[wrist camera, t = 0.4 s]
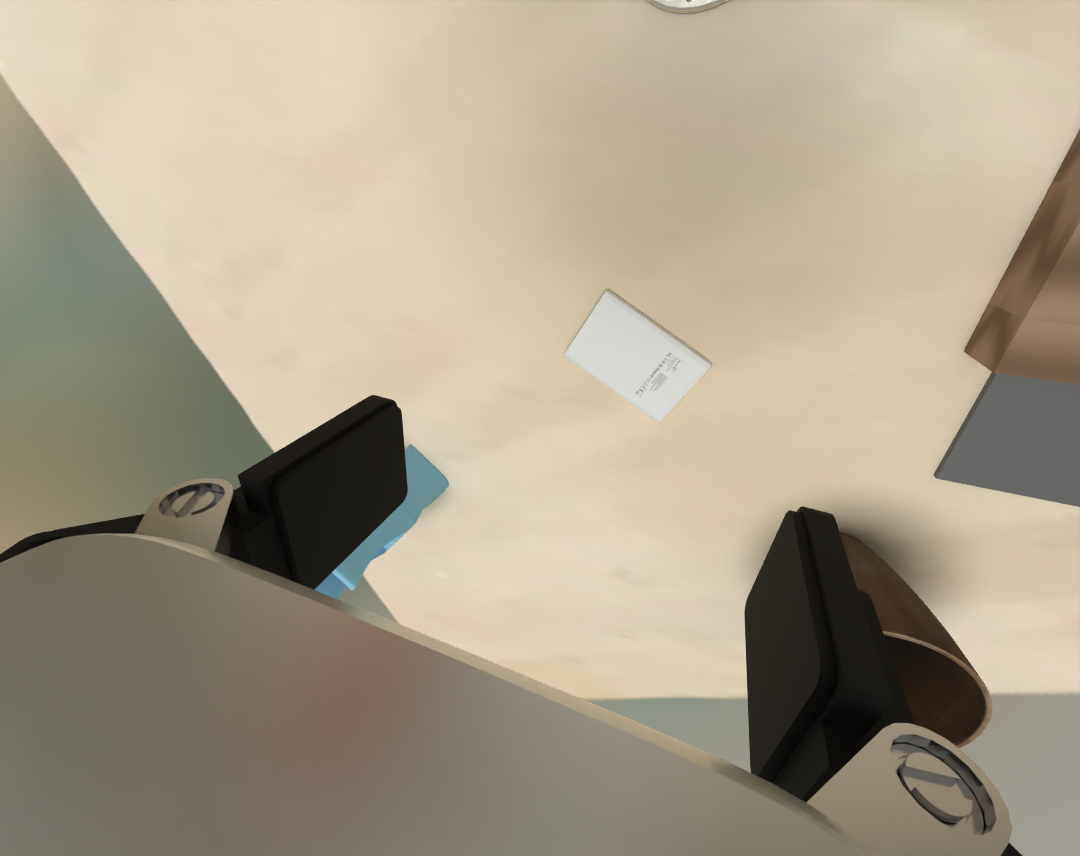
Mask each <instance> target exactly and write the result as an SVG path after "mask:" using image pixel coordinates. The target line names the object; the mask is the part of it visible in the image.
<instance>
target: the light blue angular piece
mask: <svg viewBox="0 0 1080 856" xmlns="http://www.w3.org/2000/svg"><path fill="white" fill-rule="evenodd" d="M405 461H406V473H407V485H408V492H407V496H406V498H405V500H404V502H403V503H402V504H401V505H400V506H399V507H398V508H397V509H396V510H395V511H394V512H393V513H392V514H391V515H390V516H389V517H388V518H387V519H386V520H385V521H384V522H383V523H382V524H381V525H380V526H379V527H378V528H377V529H376V530H375V531H374V532H373V533H372V534H371V535H370V536H369V537H367V538H366V539H365V540H364V541H363V542H362V543H361V544H360V545H359V546H358V547H357V548H356V549H355V550H354V551H353V552H352V553H351V554H350V555H349V556H348V557H347V558H346V559H345V560H344V561H343V562H342V563H341V564H340V565H339V566H338V567H337V568H336V569H335V570H334V571H333V572H332V573H331V574H330V575H329V576H328V577H327V578H326V579H325V580H324V581H323V582H322V583H321V584H320V585H319V586H318V587H317V588H316V589H315V590H316V591H318V592H321V593H323V594H326V595H328V596H331V597H333V598H336V599H338V598H339V597H340V595H341V594H342V592H343V590H344V589H345V587H346V586H348V587H349V588H350V589H351V590H353V589H354V588H355V587H356V586H357V583H358V582H359V580H360V578H361V576H362V574H363V572H364V571H365V569H366V567H367V566H368V564H369V563H370V561H371V560H373V559H375V558H376V557H378V556H380V555H382V554H384V553H385V552H386V551H387V550H388V549H389V548H390V547H391V546H392V545H393V544H394V543H395V542H397V541H398V540H399V539H400V538H401V537H402V536H403V535H404V534H405V533H406V532H407V531H408V530H409V529H410V528H411V527H412V526H413V525H414V524H415V523H416V521H417V519H418V517H419V515H420V514H421V512H422V510H423V509H424V508H425V507H427V506H428V505H429V504H431V503H432V502H433V501H434V500H435V499H436V498H437V497H438V496H439V495H440V494H441V493H442V492H443V491H444V490H445V489H446V488H447V487H448V481H447V479H446V478H445V476H444V475H443V474H442V473H441V472H440V471H439V470H438V469H436V468H435V467H434V466H433V465H432V464H431V463H430V462H429V461H428V460H427V459H426V458H425V457H424V456H423V455H422V454H421V453H420V452H419V451H418V450H416V449H415V448H414V447H413V446H412V445H411V444H410V446H409V447H408V448H407V449H406V451H405Z"/></svg>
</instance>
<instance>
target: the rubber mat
mask: <svg viewBox="0 0 1080 856" xmlns="http://www.w3.org/2000/svg"><path fill="white" fill-rule="evenodd" d="M934 476H935V477H936V478H937V479H942V480H947V481H952V482H957V483H962V484H967V485H972V486H977V487H982V488H987V489H992V490H997V491H1003V492H1008V493H1013V494H1018V495H1023V496H1028V497H1033V498H1038V499H1043V500H1048V501H1053V502H1058V503H1063V504H1068V505H1073V506H1078V507H1080V385H1078V384H1071V383H1063V382H1056V381H1049V380H1042V379H1035V378H1028V377H1020V376H1013V375H1006V374H999V373H993V372H992V374H991V376H990V377H989V379H988V381H987V383H986V384H985V386H984V388H983V390H982V391H981V393H980V395H979V397H978V398H977V400H976V402H975V404H974V405H973V407H972V409H971V411H970V412H969V414H968V416H967V418H966V419H965V421H964V423H963V425H962V426H961V428H960V430H959V432H958V433H957V435H956V437H955V439H954V440H953V442H952V444H951V446H950V447H949V449H948V451H947V453H946V454H945V456H944V458H943V460H942V461H941V463H940V465H939V467H938V468H937V470H936V472H935V474H934Z"/></svg>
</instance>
